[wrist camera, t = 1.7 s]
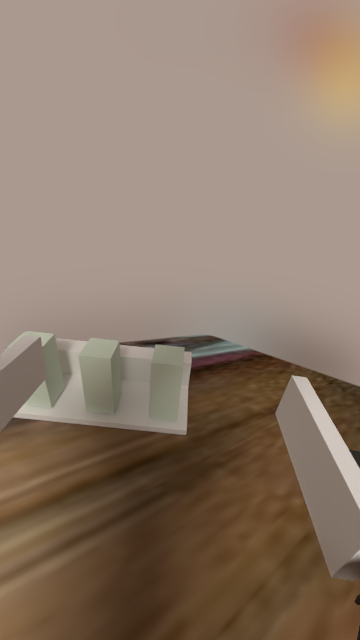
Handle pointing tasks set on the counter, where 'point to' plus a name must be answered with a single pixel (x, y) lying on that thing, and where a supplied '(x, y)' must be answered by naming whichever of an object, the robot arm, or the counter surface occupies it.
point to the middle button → (101, 375)
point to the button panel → (132, 400)
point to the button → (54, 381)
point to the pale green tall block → (166, 382)
